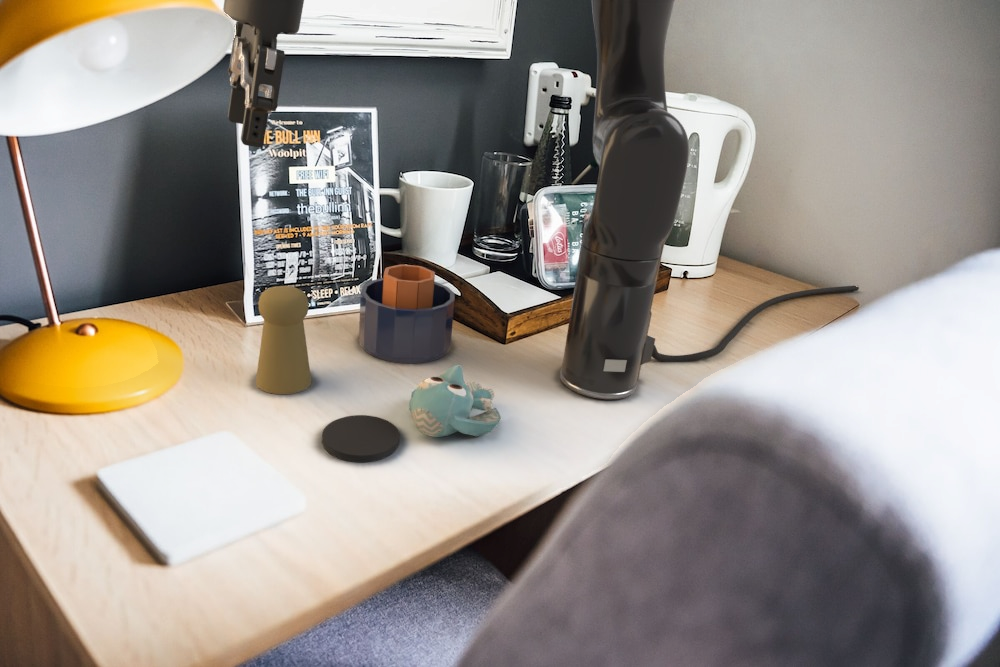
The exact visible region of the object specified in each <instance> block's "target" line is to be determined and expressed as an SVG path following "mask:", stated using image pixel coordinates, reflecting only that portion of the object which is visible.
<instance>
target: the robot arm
mask: <svg viewBox="0 0 1000 667" xmlns="http://www.w3.org/2000/svg"><path fill="white" fill-rule="evenodd" d="M304 3H305V0H223V8H222V10H223V13H224V12H225V13H226V14H228V15H229V16H230V17H231V18H232V19H231V18H230V19H231V20H233V21H236V22H235V25H236V35H235V38H234V37H233V39H234V40H233V39H232V45H231V46H232V47H231V53H230V58H229V66H228V68H227V73H228V77H229V85H230V86H231V89H230V97H229V102H228V110H227V118H228V120H229V121H230V122H231V123H233V124H240V125H242V128H241V133H240V141H241V143H242V144H243V145H245V146H249V147H254V148H262V147H263V146H264V143H265V138H266V137H265V136H266V130H267V126H268V125H267V124H268V119H269V114H271V113H272V112H276V111H277V109H278V106H279V105H278V100H279V95H280V88H281V81H282V76H283V75H282V74H283V68H284V62H285V60H286V54H285V53H286V52H285V51H284V50H281V49H278V37H279V36H278V35H280V34H284V35H295V34H298V32H299V30H300V27H301V20H302V15H303V8H304ZM674 4H675V0H591V10H592V20H593V30H594V36H595V37H594V38H595V46H596V48H595V49H596V83H595V84H596V85H595V100H594V102H595V103H594V115H593V124H592V125H593V126H592V127H593V128H592V139H591V140H592V141H591V142H592V144H591V145H592V153H593V157H594V159H595V162H596V164H597V166H598V168H599V169H598V175H597V181H596V182H597V183H596V187H595V193H594V199H593V204H592V207H591V208H592V209H591V212H590V214H589V217H588V218H587V219H586V220H585V222H584V225H583V230H582V237H581V242H580V248H579V249H580V250H579V255H578V262H577V269H576V276H575V282H574V287H573V294H572V300H571V301H572V302H571V308H570V313H569V319H568V327H567V334H566V339H565V344H564V345H565V346H564V351H563V358H562V365H561V368H560V370H559V371H560V372H559V379H560V381H561V383H562V385H564V386H565V387H567V389H569V390H571V391H573V392H575V393H577V394H579V395H583V396H586V397H588V398H593V399H600V400H620V399H625V398H628V397H630V396H632V395H633V394H634V393H635V392H636V389H637V385H638V382H639V379H640V374H641V370H642V366H643V365H644V364H647V363H649V362H650V361H652V358H653V359H654V360H656V361H658V362H662V363H688V362H695V361H700V360H703V359H707V358H712V357H714V356H716V355H718V354H720V353H722V352H723V351H724V350H725V348H727V347H728V345H729V343H730V342H731V341H732V340H733V339H735V337H736V336H737V335H738V334H739V333H740V332H741V330H743V329H744V327H746V325H747V324H748V323H749V322H750V321H751V320H752V319H753V318H754V317H756V315H758V314H759V313H760V312H762V311H763V310H765V309H767V308H768V307H770V306H773V305H775V304H778V303H781V302H784V301H787V300H793V299H796V298H802V297H807V296H808V297H809V296H815V295H824V294H835V293H843V292H844V293H845V292H856V291H857V292H858V291H859V289H860V287H859V286H858V287H856V286H855V285H844V286H830V287H822V288H813V289H812V288H811V289H805V290H799V291H793V292H790V293H785V294H782V295H779V296H775V297H773V298H770V299H768V300H766V301H764V302H762V303H761V304H759V305H757V306H756V307H754V308H752V309H751V310H750V311H749V312H747V314H746V315H745V316H743V318H742V319H740V321H738V322H737V323H736V324H735V326H734V327H733V328H732V329H731V330H730V331H729V332H728V333H727V334H726V335H725V336H724V337H723V338H722V339H721V341H720V342H719V343H718V344H717V345H716V346H715V347H712V348H710V349H707V350H702V351H699V352H694V353H690V354H681V355H671V354H670V355H669V354H663V353H659V352H658V350H657V346H656V345H655V343H656V338H655V337H653V336H651V335H649V330H650V324H651V319H652V307H653V302H654V296H655V292H656V288H657V281H658V276H659V271H660V266H661V262H662V255H663V251H664V248H665V243H666V241H667V240H668V238H669V237H670V235H671V233H672V230H673V228H674V225H675V221H676V217H677V213H678V209H679V205H680V201H681V197H682V193H683V188H684V183H685V179H686V175H687V171H688V164H689V156H690V145H689V144H690V142H689V139H688V137H689V136H688V134H687V131H686V129H685V127H684V126H683V124H682V123H681V122H680V120H679V119H678V118H676V116H674V115H673V114H671V113H670V112H669V111H668V104H667V93H666V79H665V78H666V77H665V49H666V48H665V47H666V40H667V34H668V30H669V26H670V20H671V17H672V13H673V9H674ZM225 13H224V14H225ZM226 14H225V15H226ZM259 92H262V93H264V96H260V95H259Z"/></svg>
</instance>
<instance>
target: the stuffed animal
mask: <svg viewBox="0 0 1000 667" xmlns="http://www.w3.org/2000/svg"><path fill="white" fill-rule="evenodd" d="M494 397H495V391H494V390H493V388H491V387H486V388H485V387H484V388H483V386H482V385H481V384H480V383H476V382H475V381H473V380H472V381H471V380H470V381H467V382H465V380H464V371H463V367H462V365H460V364H455V365H453V366H451V367H450V368H449V369H447V370H446V371H445V372H443V373H442V374H439V375H437V376H430V377H428V378H425V379H423V380H421V382H420V383H418V384H417V386H416V388H415V389H414V390H413V391H411V396H410V399H409V403H408V410H409V411H410V414H411V417H412V420H413V423H414V425H415V427H416V429H418V430H419V431H420V432H421V433H422V434H424V435H426V436H429V437H434V438H440V437H447V436H450V435H452V434H455V433H457V432H459V433H461V434H464V435H470V436H474V437H479V436H482V435H486V434H488V433H491V432H493V430H494V429H495V428H496V427H497V425H498V424H500V422H501V420H502V416H501V414H500V412H499V410H498V409H497V408H496V407H494V408H493V402H492V401H493V399H494ZM472 409H476V410H478V411H483V412H482V413H479V414H477V415H474V416H471V417H470V415H471V413H472Z"/></svg>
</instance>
